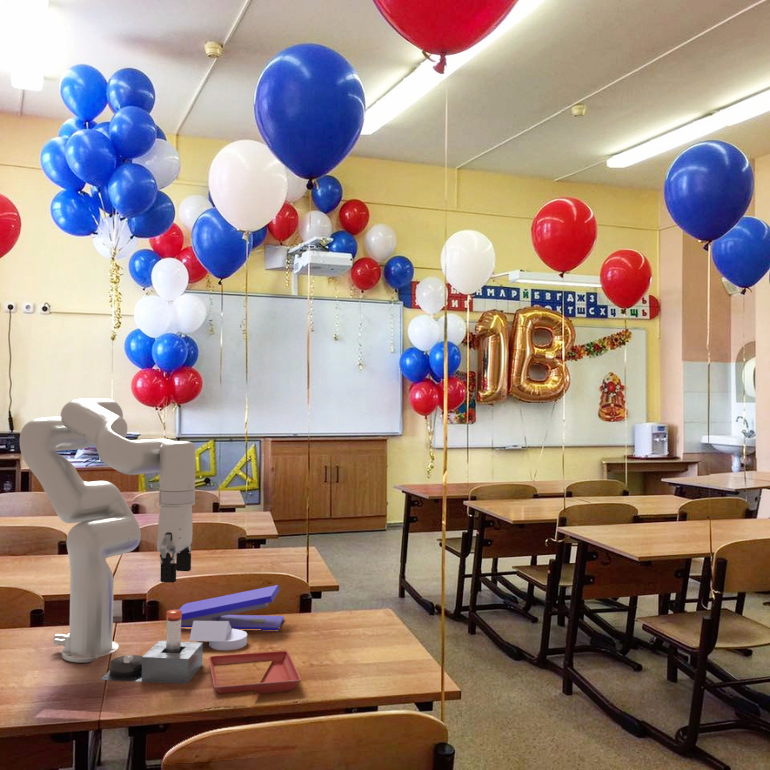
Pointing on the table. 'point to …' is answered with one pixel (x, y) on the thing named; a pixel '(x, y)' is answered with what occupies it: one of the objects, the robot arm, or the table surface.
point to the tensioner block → (158, 665)
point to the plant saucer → (275, 679)
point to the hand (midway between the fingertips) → (176, 576)
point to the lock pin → (173, 631)
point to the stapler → (234, 610)
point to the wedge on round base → (218, 635)
